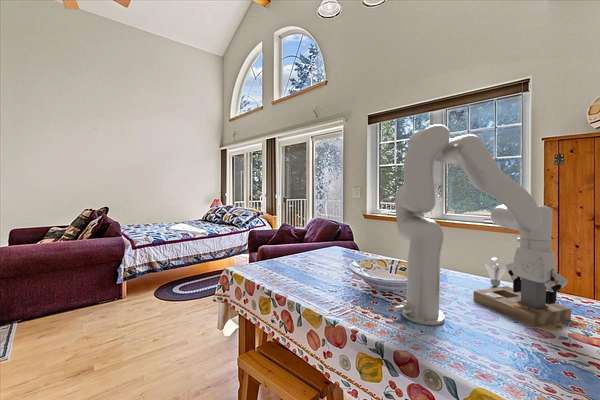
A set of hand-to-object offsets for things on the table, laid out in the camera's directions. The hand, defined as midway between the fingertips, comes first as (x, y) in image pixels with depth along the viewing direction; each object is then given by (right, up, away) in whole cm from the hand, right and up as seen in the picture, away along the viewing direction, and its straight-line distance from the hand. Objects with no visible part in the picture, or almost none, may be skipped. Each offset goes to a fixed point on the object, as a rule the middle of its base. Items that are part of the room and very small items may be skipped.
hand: (533, 297), depth 89 cm
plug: (0, -6, 0) cm, 6 cm away
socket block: (-1, -6, +5) cm, 7 cm away
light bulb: (+6, -5, +25) cm, 26 cm away
